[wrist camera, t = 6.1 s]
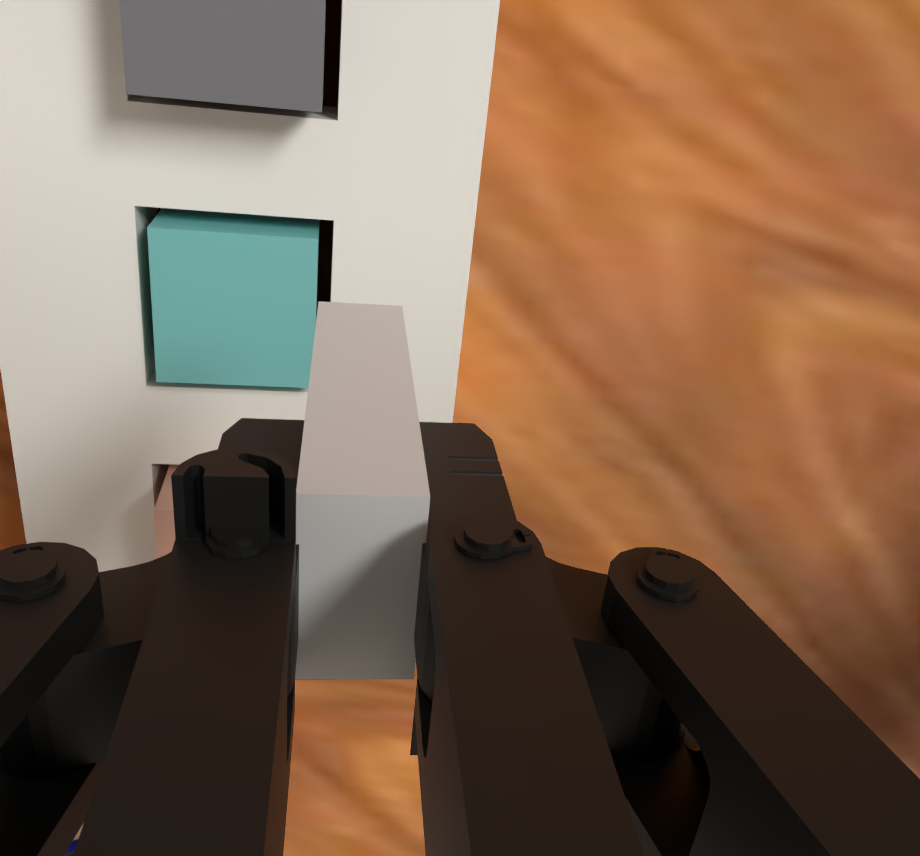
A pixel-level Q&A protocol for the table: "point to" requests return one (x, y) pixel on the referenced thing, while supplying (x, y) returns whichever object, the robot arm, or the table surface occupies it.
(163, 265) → the teal button
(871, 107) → the table surface
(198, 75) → the charcoal button
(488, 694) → the robot arm
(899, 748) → the table surface
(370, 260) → the button board
